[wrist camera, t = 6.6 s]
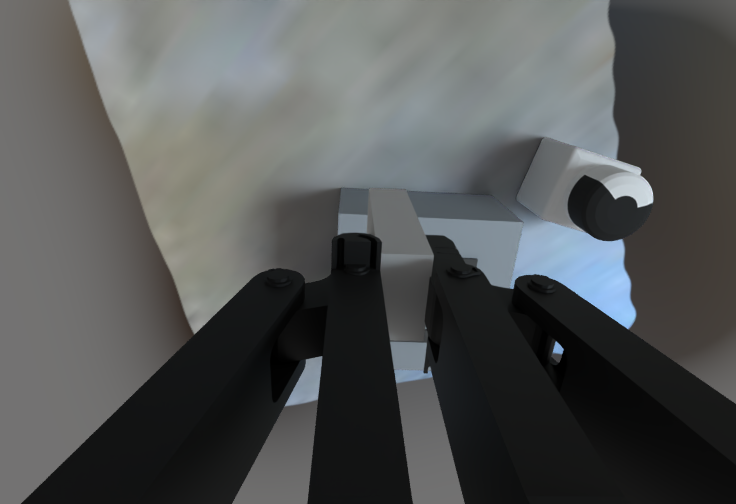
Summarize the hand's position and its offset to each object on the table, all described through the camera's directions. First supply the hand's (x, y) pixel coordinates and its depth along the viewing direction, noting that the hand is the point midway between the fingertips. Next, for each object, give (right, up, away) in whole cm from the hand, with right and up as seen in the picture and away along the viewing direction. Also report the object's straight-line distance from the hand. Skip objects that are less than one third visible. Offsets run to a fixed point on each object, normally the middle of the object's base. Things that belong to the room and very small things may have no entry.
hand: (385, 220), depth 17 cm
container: (+22, +8, +32) cm, 40 cm away
